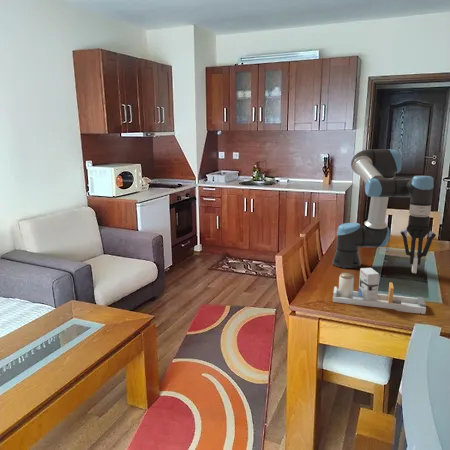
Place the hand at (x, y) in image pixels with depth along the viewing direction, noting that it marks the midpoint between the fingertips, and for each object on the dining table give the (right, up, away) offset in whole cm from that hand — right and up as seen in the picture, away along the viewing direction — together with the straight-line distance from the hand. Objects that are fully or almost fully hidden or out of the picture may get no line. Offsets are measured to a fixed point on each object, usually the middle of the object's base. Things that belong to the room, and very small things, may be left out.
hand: (414, 272), depth 161 cm
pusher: (-6, -14, +5) cm, 16 cm away
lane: (-12, -14, +8) cm, 20 cm away
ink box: (-16, -12, +8) cm, 22 cm away
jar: (-25, -13, +11) cm, 30 cm away
